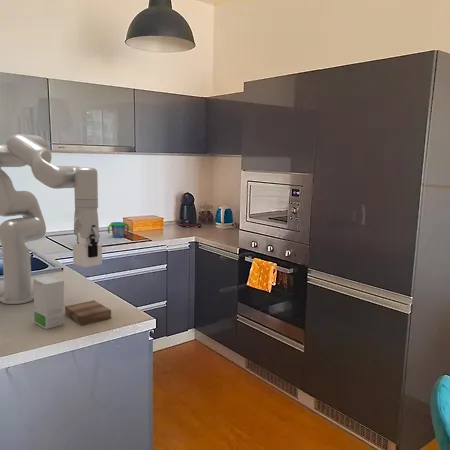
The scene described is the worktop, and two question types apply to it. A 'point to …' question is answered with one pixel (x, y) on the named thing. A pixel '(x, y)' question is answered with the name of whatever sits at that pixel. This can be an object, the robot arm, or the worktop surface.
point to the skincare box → (48, 301)
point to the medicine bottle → (85, 253)
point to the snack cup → (118, 229)
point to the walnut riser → (87, 312)
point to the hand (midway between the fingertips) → (87, 254)
